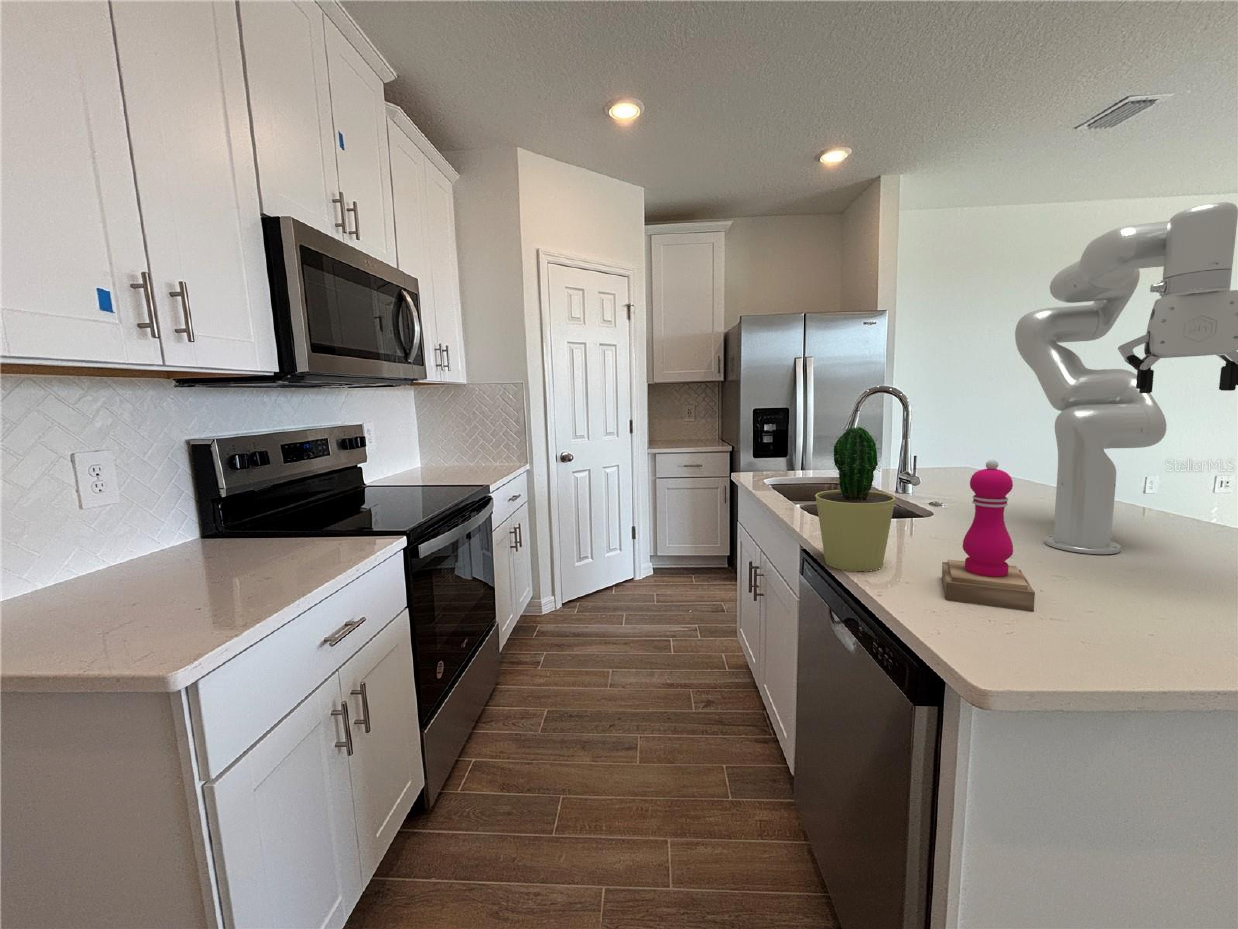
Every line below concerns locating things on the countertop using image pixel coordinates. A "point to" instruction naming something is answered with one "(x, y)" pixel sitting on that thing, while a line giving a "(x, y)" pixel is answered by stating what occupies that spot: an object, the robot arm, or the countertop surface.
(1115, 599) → the countertop surface
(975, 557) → the pepper mill
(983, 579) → the wooden box
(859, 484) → the potted cactus
